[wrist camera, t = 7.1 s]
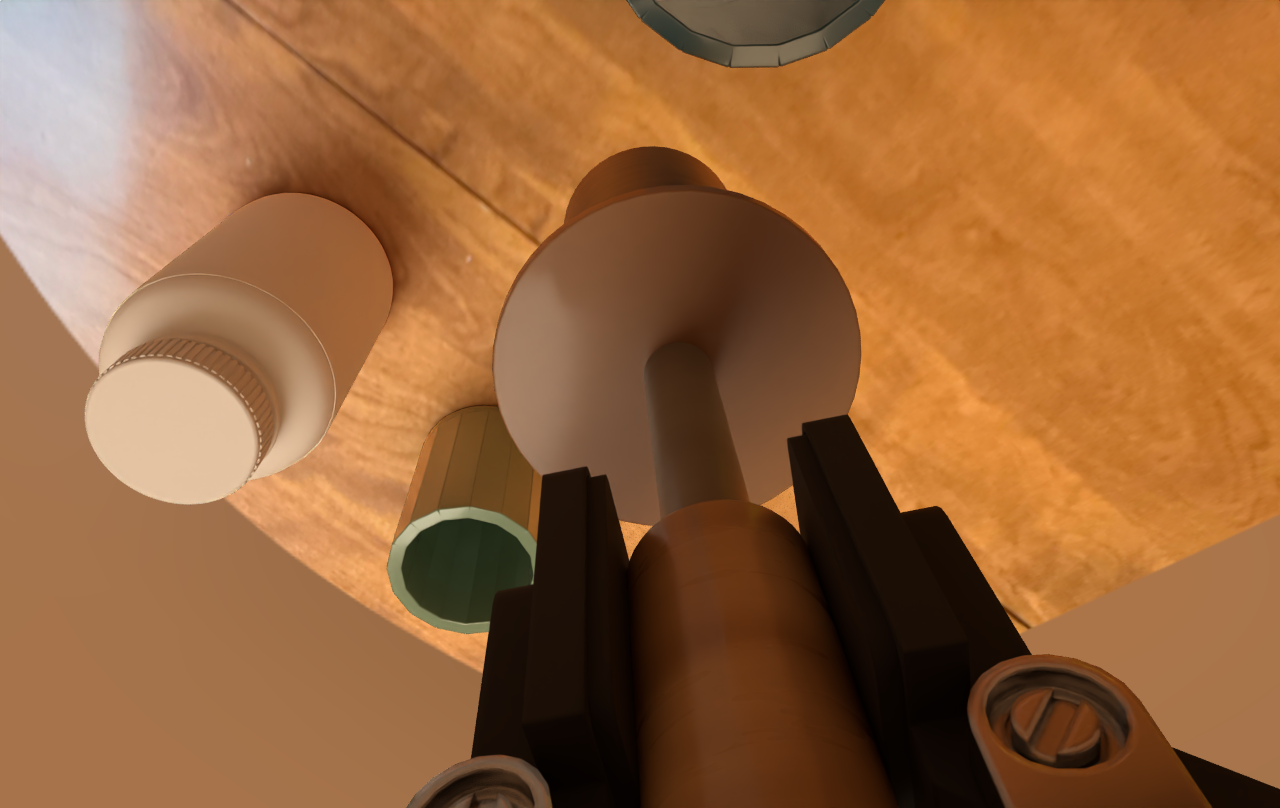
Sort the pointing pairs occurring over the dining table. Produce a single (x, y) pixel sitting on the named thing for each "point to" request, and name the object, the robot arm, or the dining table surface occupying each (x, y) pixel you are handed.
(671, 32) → the teal tumbler
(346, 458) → the dining table surface
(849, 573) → the robot arm
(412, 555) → the holder
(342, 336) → the pill bottle
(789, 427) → the brush
